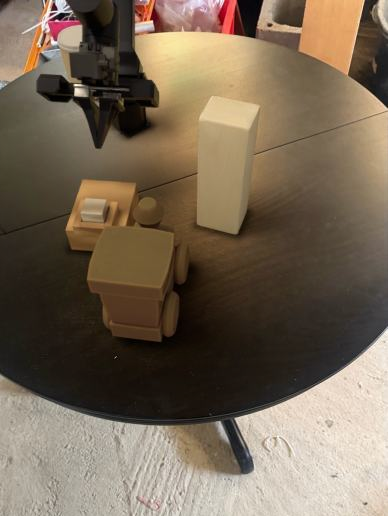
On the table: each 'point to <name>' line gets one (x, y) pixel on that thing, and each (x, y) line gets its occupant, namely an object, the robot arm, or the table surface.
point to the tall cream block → (225, 162)
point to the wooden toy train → (139, 274)
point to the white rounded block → (94, 210)
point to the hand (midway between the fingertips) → (98, 148)
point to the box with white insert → (119, 212)
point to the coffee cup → (70, 47)
